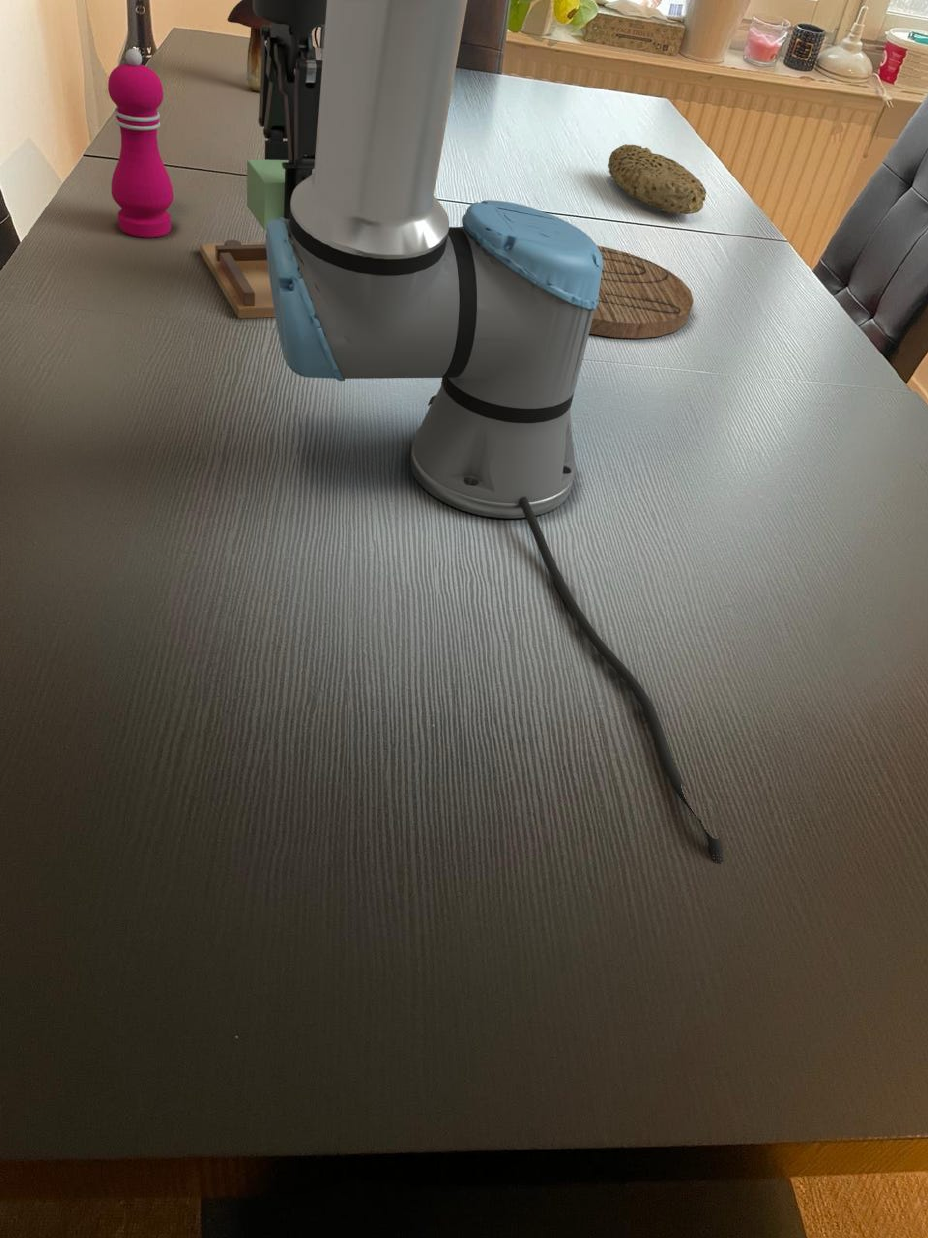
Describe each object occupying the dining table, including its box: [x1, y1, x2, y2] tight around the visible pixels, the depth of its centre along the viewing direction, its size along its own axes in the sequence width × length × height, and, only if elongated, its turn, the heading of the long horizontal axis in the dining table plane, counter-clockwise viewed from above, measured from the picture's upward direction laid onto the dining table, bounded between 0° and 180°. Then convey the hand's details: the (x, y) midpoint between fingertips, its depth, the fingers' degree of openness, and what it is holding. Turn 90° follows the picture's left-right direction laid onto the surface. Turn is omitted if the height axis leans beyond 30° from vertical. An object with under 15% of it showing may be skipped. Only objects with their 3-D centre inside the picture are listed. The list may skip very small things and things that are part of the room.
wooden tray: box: [199, 239, 275, 320], centre depth 116 cm, size 18×14×3 cm
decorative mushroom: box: [226, 0, 271, 92], centre depth 172 cm, size 11×11×15 cm
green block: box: [246, 158, 314, 231], centre depth 108 cm, size 7×7×5 cm
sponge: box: [607, 143, 707, 215], centre depth 159 cm, size 13×8×20 cm
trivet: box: [589, 245, 695, 339], centre depth 127 cm, size 25×25×2 cm
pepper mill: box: [107, 48, 174, 239], centre depth 117 cm, size 7×7×20 cm
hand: (286, 214), depth 109 cm, fingers closed on green block, 7 cm apart
